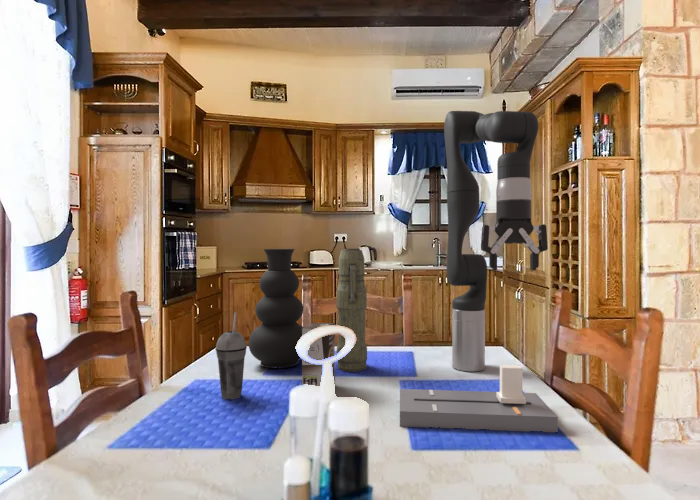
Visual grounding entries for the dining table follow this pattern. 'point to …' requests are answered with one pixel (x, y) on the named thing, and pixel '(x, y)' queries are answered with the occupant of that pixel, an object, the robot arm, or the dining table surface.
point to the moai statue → (352, 308)
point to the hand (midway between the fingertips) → (513, 270)
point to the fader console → (474, 411)
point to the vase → (277, 313)
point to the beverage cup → (231, 362)
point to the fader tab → (511, 385)
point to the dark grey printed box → (317, 355)
